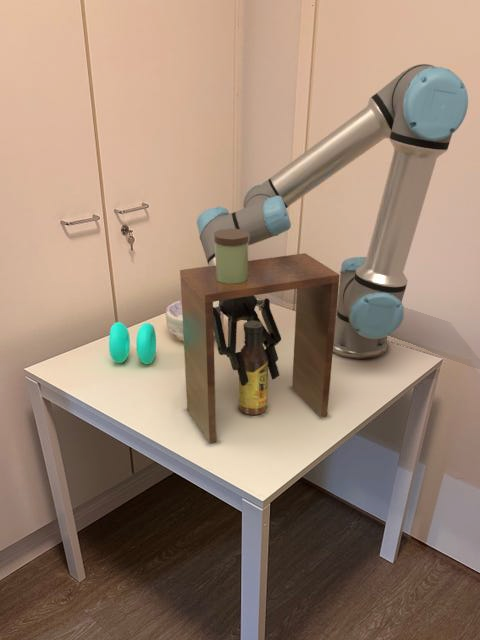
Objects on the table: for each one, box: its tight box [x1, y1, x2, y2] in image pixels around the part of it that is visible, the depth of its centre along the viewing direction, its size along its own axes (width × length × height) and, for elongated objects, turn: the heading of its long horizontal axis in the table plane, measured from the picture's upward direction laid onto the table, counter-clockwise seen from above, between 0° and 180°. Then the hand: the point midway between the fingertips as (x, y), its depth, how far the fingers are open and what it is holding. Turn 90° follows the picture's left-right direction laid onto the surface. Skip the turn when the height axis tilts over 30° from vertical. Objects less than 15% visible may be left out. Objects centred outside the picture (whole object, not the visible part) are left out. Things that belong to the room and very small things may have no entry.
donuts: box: [108, 321, 157, 365], centre depth 155 cm, size 10×10×10 cm
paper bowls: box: [165, 299, 225, 343], centre depth 168 cm, size 15×15×8 cm
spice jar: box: [214, 229, 249, 284], centre depth 115 cm, size 6×6×8 cm
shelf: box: [179, 252, 340, 444], centre depth 129 cm, size 27×14×32 cm, turn 113°
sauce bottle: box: [238, 321, 269, 416], centre depth 133 cm, size 7×6×20 cm
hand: (260, 380), depth 131 cm, fingers closed on sauce bottle, 6 cm apart
